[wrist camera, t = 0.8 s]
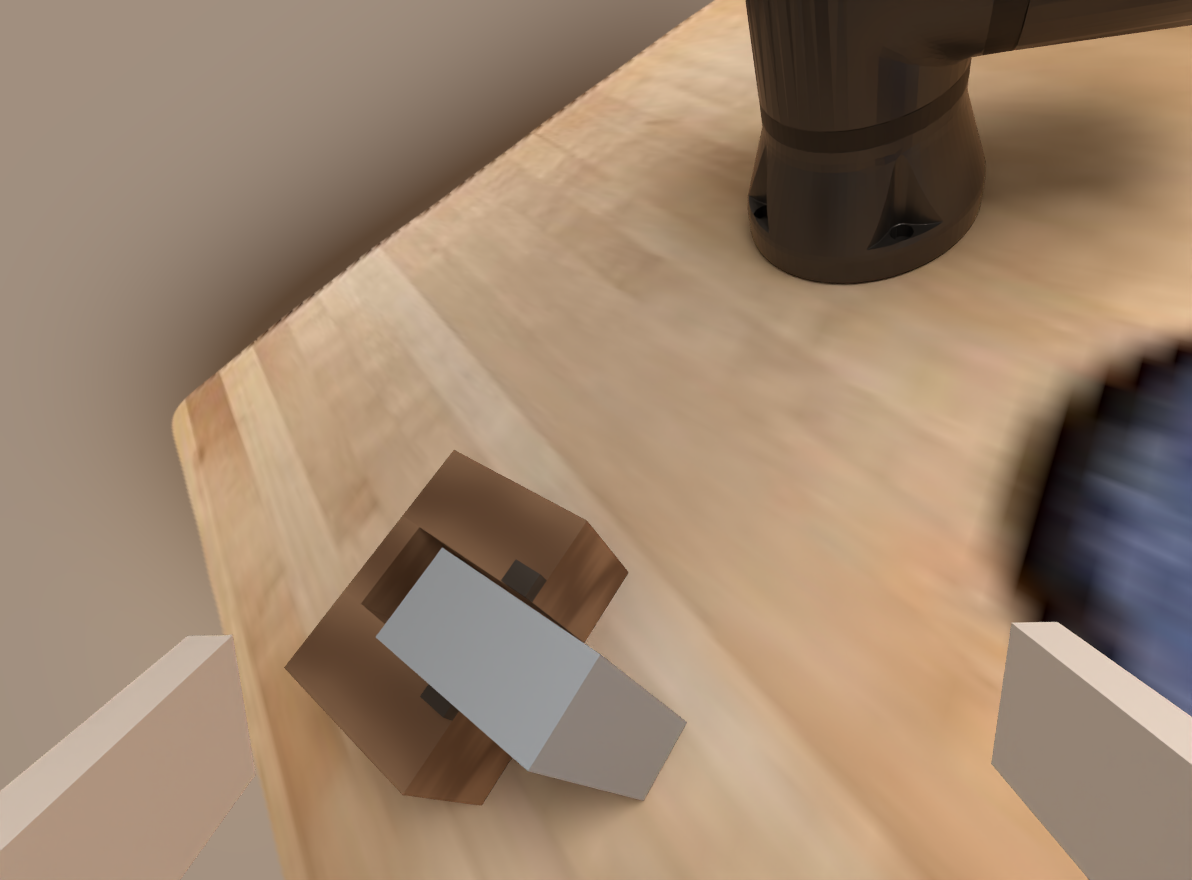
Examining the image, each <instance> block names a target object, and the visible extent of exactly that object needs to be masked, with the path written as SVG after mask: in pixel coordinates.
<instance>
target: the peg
mask: <svg viewBox="0 0 1192 880" xmlns="http://www.w3.org/2000/svg"><path fill="white" fill-rule="evenodd" d="M376 638H377V639H378V640H379V641H380V642H382V643H383V644H384V645H385V646H386V647H387V648H388V649H390V650H391V651H392V652H393V653H394V654H395V655H396V656H398V657H399V658H400V659H401V660H402V661H403V662H404V663H405V664H407V665H408V666H409V667H410V668H411V669H412V670H413V671H415V672H416V673H417V674H418V675H419V676H420V677H421V678H423V679H424V680H425V681H426V682H427V683H428V684H429V685H430V686H432V687H433V688H434V689H435V690H436V691H437V692H438V693H440V694H441V695H442V696H443V697H444V698H445V699H446V700H448V701H449V702H450V703H451V704H452V705H453V706H454V707H455V708H457V709H458V710H459V711H460V712H461V713H462V714H463V715H465V716H466V717H467V718H468V719H469V720H470V721H471V722H473V723H474V724H475V725H476V726H477V727H478V728H479V729H480V730H482V731H483V732H484V733H485V734H486V735H487V736H488V737H490V738H491V739H492V740H493V741H494V742H495V743H496V744H498V745H499V746H500V747H501V748H502V749H503V750H504V751H505V752H507V753H508V754H509V755H510V756H511V757H512V758H513V759H515V760H516V761H517V762H518V763H519V764H520V765H521V766H523V767H524V768H525V769H526V770H527V771H529V772H533V773H537V774H540V775H544V776H548V777H552V778H556V779H560V780H564V781H568V782H572V783H576V784H580V785H584V786H587V787H591V788H595V789H599V790H603V791H607V792H611V793H615V794H619V795H623V796H627V797H630V798H634V799H638V800H642V801H644V799H645V797H646V795H647V794H648V792H649V790H650V788H651V786H652V784H653V783H654V781H655V779H656V777H657V775H658V774H659V772H660V770H661V768H662V766H663V765H664V763H665V761H666V759H667V757H668V756H669V754H670V752H671V750H672V748H673V746H674V745H675V743H676V741H677V739H678V737H679V736H680V734H681V732H682V730H683V728H684V727H685V725H686V723H687V722H686V721H685V720H683V719H682V718H681V717H680V716H678V715H677V714H676V713H674V712H673V711H672V710H671V709H669V708H668V707H667V706H665V705H664V704H663V703H662V702H660V701H659V700H658V699H657V698H655V697H654V696H653V695H651V694H650V693H649V692H648V691H646V690H645V689H644V688H643V687H641V686H640V685H639V684H637V683H636V682H635V681H634V680H632V679H631V678H630V677H628V676H627V675H626V674H625V673H623V672H622V671H621V670H620V669H618V668H617V667H616V666H614V665H613V664H612V663H611V662H609V661H608V660H607V659H606V658H604V657H603V656H602V655H600V654H599V653H597V652H596V651H594V650H593V649H592V648H590V647H589V646H587V645H586V644H584V643H583V642H581V641H580V640H578V639H577V638H575V637H574V636H572V635H571V634H569V633H568V632H566V631H565V630H563V629H562V628H560V627H559V626H558V625H556V624H555V623H553V622H552V621H550V620H549V619H547V618H546V617H544V616H543V615H541V614H540V613H538V612H537V611H535V610H534V609H532V608H531V607H529V606H528V605H526V604H525V603H523V602H522V601H521V600H519V599H518V598H516V597H515V596H513V595H512V594H510V593H509V592H507V591H506V590H504V589H503V588H501V587H500V586H498V585H497V584H495V583H494V582H492V581H491V580H489V579H488V578H487V577H485V576H484V575H482V574H481V573H479V572H478V571H476V570H475V569H473V568H472V567H470V566H469V565H467V564H466V563H464V562H463V561H461V560H460V559H458V558H457V557H455V556H454V555H452V554H451V553H450V552H448V551H447V550H445V549H444V548H441V550H440V551H439V553H438V554H437V555H436V557H435V558H434V559H433V561H432V562H431V563H430V565H429V566H428V567H427V569H426V570H425V571H424V573H423V574H422V575H421V577H420V578H419V579H418V581H417V582H416V583H415V585H414V586H413V587H412V589H411V590H410V591H409V593H408V594H407V595H406V597H405V598H404V600H403V601H402V602H401V604H400V605H399V606H398V608H397V609H396V610H395V612H394V613H393V614H392V616H391V617H390V618H389V620H388V621H387V622H386V624H385V625H384V626H383V628H382V629H381V630H380V632H379V633H378V634H377V636H376Z"/></svg>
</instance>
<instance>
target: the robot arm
mask: <svg viewBox="0 0 1192 880" xmlns="http://www.w3.org/2000/svg"><path fill="white" fill-rule="evenodd" d="M746 7H747V15H748V22H749V30H750V37H751V44H752V52H753V59H754V67H755V74H756V81H757V89H758V96H759V102H760V110H761V118H762V131H761V136H760V141H759V146H758V151H757V155H756V160H755V165H754V170H753V174H752V179H751V184H750V189H749V193H748V214H749V220H750V226H751V233H752V237H753V240H754V242H755V244H756V246H757V248H758V250H759V251H760V252H761V254H762V255H763V256H764V257H765V258H766V259H767V260H768V261H770V262H771V263H772V264H773V265H775V266H776V267H778V268H780V269H782V270H783V271H785V272H788V273H790V274H792V275H795V276H798V277H801V278H805V279H809V280H814V281H820V282H829V283H856V282H866V281H873V280H878V279H883V278H887V277H891V276H895V275H898V274H901V273H904V272H907V271H910V270H912V269H915V268H917V267H919V266H922V265H924V264H926V263H928V262H929V261H931V260H933V259H935V258H937V257H938V256H940V255H941V254H943V253H944V252H946V251H947V250H948V249H950V248H951V247H952V246H953V245H954V244H956V243H957V242H958V241H959V240H960V239H961V238H962V237H963V236H964V234H965V233H966V232H967V231H968V230H969V228H970V227H971V225H972V224H973V222H974V220H975V218H976V216H977V214H978V211H979V208H980V204H981V199H982V193H983V188H984V183H985V175H986V168H985V157H984V153H983V149H982V145H981V142H980V138H979V134H978V130H977V126H976V122H975V118H974V114H973V110H972V106H971V102H970V98H969V94H968V90H967V87H968V78H969V72H970V65H971V57H976V56H981V55H987V54H994V53H1000V52H1006V51H1012V50H1020V49H1027V48H1034V47H1041V46H1048V45H1055V44H1062V43H1069V42H1076V41H1083V40H1090V39H1097V38H1104V37H1111V36H1118V35H1125V34H1132V33H1139V32H1146V31H1153V30H1160V29H1167V28H1174V27H1181V26H1188V25H1192V0H746ZM991 764H992V765H993V766H994V768H995V769H996V770H997V771H998V772H999V773H1000V775H1001V776H1002V777H1003V778H1004V779H1005V781H1006V782H1007V783H1008V784H1009V785H1010V786H1011V788H1012V789H1013V790H1014V791H1015V792H1016V794H1017V795H1018V796H1019V797H1020V798H1021V800H1022V801H1023V802H1024V803H1025V804H1026V805H1027V807H1028V808H1029V809H1030V810H1031V811H1032V813H1033V814H1034V815H1035V816H1036V817H1037V818H1038V820H1039V821H1040V822H1041V823H1042V824H1043V826H1044V827H1045V828H1046V829H1047V830H1048V831H1049V833H1050V834H1051V835H1052V836H1053V837H1054V839H1055V840H1056V841H1057V842H1058V843H1059V845H1060V846H1061V847H1062V848H1063V849H1064V850H1065V852H1066V853H1067V854H1068V855H1069V856H1070V858H1071V859H1072V860H1073V861H1074V862H1075V863H1076V865H1077V866H1078V867H1079V868H1080V869H1081V871H1082V872H1083V873H1084V874H1085V875H1086V877H1087V878H1088V879H1089V880H1192V717H1191V716H1190V715H1188V714H1187V713H1185V712H1184V711H1182V710H1181V709H1180V708H1178V707H1177V706H1175V705H1174V704H1173V703H1171V702H1170V701H1168V700H1167V699H1166V698H1164V697H1163V696H1161V695H1160V694H1158V693H1157V692H1156V691H1154V690H1153V689H1151V688H1150V687H1149V686H1147V685H1146V684H1144V683H1143V682H1141V681H1140V680H1139V679H1137V678H1136V677H1134V676H1133V675H1132V674H1130V673H1129V672H1127V671H1126V670H1124V669H1123V668H1122V667H1120V666H1119V665H1117V664H1116V663H1115V662H1113V661H1112V660H1110V659H1109V658H1108V657H1106V656H1105V655H1103V654H1102V653H1100V652H1099V651H1098V650H1096V649H1095V648H1093V647H1092V646H1091V645H1089V644H1088V643H1086V642H1085V641H1083V640H1082V639H1081V638H1079V637H1078V636H1076V635H1075V634H1074V633H1072V632H1071V631H1069V630H1068V629H1066V628H1065V627H1064V626H1062V625H1061V624H1059V623H1058V622H1027V623H1011V630H1010V637H1009V644H1008V651H1007V658H1006V665H1005V672H1004V679H1003V686H1002V693H1001V700H1000V707H999V713H998V720H997V727H996V734H995V741H994V748H993V755H992V762H991ZM255 775H256V774H255V767H254V761H253V755H252V749H251V743H250V737H249V731H248V725H247V719H246V713H245V707H244V701H243V695H242V688H241V682H240V676H239V670H238V664H237V658H236V652H235V646H234V640H233V635H208V636H187V637H186V638H184V639H183V640H182V641H181V642H180V643H178V644H177V645H176V646H175V647H173V648H172V649H171V650H170V651H169V652H167V653H166V654H165V655H164V656H163V657H161V658H160V659H159V660H158V661H157V662H155V663H154V664H153V665H152V666H151V667H149V668H148V669H147V670H146V671H144V672H143V673H142V674H141V675H140V676H139V677H137V678H136V679H135V680H134V681H132V682H131V683H130V684H129V685H128V686H126V687H125V688H124V689H123V690H122V691H120V692H119V693H118V694H117V695H116V696H114V697H113V698H112V699H111V700H109V701H108V702H107V703H106V704H105V705H103V706H102V707H101V708H100V709H99V710H97V711H96V712H95V713H94V714H93V715H91V716H90V717H89V718H88V719H86V720H85V721H84V722H83V723H82V724H80V725H79V726H78V727H77V728H76V729H75V730H73V731H72V732H71V733H70V734H68V735H67V736H66V737H65V738H64V739H63V740H61V741H60V742H59V743H58V744H56V745H55V746H54V747H53V748H52V749H50V750H49V751H48V752H47V753H45V754H44V755H43V756H42V757H41V758H39V759H38V760H37V761H36V762H35V763H33V764H32V765H31V766H30V767H29V768H27V769H26V770H25V771H24V772H23V773H21V774H20V775H19V776H18V777H17V778H15V779H14V780H13V781H12V782H10V783H9V784H8V785H7V786H6V787H4V788H3V789H2V790H1V791H0V880H180V879H181V878H182V877H183V875H184V874H185V872H186V871H187V870H188V868H189V867H190V865H191V864H192V863H193V861H194V860H195V858H196V857H197V856H198V854H199V853H200V851H201V850H202V849H203V847H204V846H205V844H206V843H207V841H208V840H209V839H210V837H211V836H212V834H213V833H214V832H215V830H216V829H217V828H218V826H219V825H220V823H221V822H222V821H223V819H224V818H225V816H226V815H227V814H228V812H229V811H230V809H231V808H232V807H233V805H234V804H235V802H236V801H237V800H238V798H239V797H240V796H241V794H242V793H243V791H244V789H245V788H246V787H247V786H248V784H249V783H250V781H251V780H252V779H253V777H254V776H255Z"/></svg>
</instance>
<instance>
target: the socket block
mask: <svg viewBox="0 0 1192 880" xmlns="http://www.w3.org/2000/svg"><path fill="white" fill-rule="evenodd" d="M441 548H444V549H445V550H447V551H448V552H450V553H451V554H452V555H454V556H455V557H457V558H458V559H460V560H461V561H463V562H464V563H466V564H467V565H469V566H470V567H472V568H473V569H475V570H476V571H478V572H479V573H481V574H483V575H484V576H486V577H487V578H489V579H490V580H492V581H493V582H495V583H496V584H498V585H499V586H501V587H502V588H504V589H505V590H507V591H508V592H510V593H511V594H513V595H514V596H516V597H517V598H519V599H520V600H521V601H523V602H524V603H526V604H527V605H529V606H530V607H532V608H533V609H535V610H536V611H538V612H539V613H541V614H542V615H544V616H545V617H547V618H548V619H550V620H551V621H553V622H554V623H556V624H557V625H559V626H560V627H561V628H563V629H564V630H566V631H567V632H569V633H570V634H572V635H573V636H575V637H576V638H578V639H579V640H581V641H582V642H585V641H586V639H587V637H588V636H589V634H590V633H591V631H592V629H593V628H594V626H595V625H596V623H597V622H598V620H599V618H600V617H601V615H602V614H603V612H604V610H605V609H606V607H607V606H608V604H609V602H610V601H611V599H612V598H613V596H614V595H615V593H616V591H617V590H618V588H619V587H620V585H621V583H622V582H623V580H624V579H625V577H626V576H627V574H628V571H627V570H626V569H625V567H624V566H623V565H622V564H621V562H620V561H619V560H618V559H617V557H616V556H615V555H614V554H613V552H612V551H611V550H610V549H609V547H608V546H607V545H606V544H605V542H604V541H603V540H602V539H601V537H600V536H599V535H598V534H597V533H596V531H595V530H594V529H593V528H592V526H591V525H590V524H589V523H588V521H586V520H585V519H583V518H581V517H579V516H577V515H575V514H573V513H571V512H570V511H568V510H566V509H564V508H562V507H560V506H558V505H556V504H555V503H553V502H551V501H549V500H547V499H545V498H543V497H541V496H540V495H538V494H536V493H534V492H532V491H530V490H528V489H526V488H525V487H523V486H521V485H519V484H517V483H515V482H513V481H511V480H510V479H508V478H506V477H504V476H502V475H500V474H498V473H496V472H495V471H493V470H491V469H489V468H487V467H485V466H483V465H481V464H480V463H478V462H476V461H474V460H472V459H470V458H468V457H466V456H465V455H463V454H461V453H459V452H457V451H455V450H454V451H453V452H452V453H451V455H450V456H449V457H448V458H447V460H446V461H445V462H444V464H443V465H442V466H441V467H440V469H439V470H438V471H437V472H436V474H435V475H434V476H433V478H432V479H431V480H430V481H429V483H428V484H427V485H426V487H425V488H424V489H423V490H422V492H421V493H420V494H419V496H418V497H417V498H416V499H415V501H414V502H413V503H412V505H411V506H410V507H409V508H408V510H407V511H406V512H405V513H404V515H403V516H402V517H401V519H400V520H399V521H398V522H397V524H396V525H395V526H394V528H393V529H392V530H391V531H390V533H389V534H388V535H387V537H386V538H385V539H384V540H383V542H382V543H381V544H380V546H379V547H378V548H377V549H376V551H375V552H374V553H373V554H372V556H371V557H370V558H369V560H368V561H367V562H366V563H365V565H364V566H363V567H362V569H361V570H360V571H359V572H358V574H357V575H356V576H355V578H354V579H353V580H352V581H351V583H350V584H349V585H348V587H347V588H346V589H345V590H344V592H343V593H342V594H341V595H340V597H339V598H338V599H337V601H336V602H335V603H334V604H333V606H332V607H331V608H330V610H329V611H328V612H327V613H326V615H325V616H324V617H323V619H322V620H321V621H320V622H319V624H318V625H317V626H316V628H315V629H314V630H313V631H312V633H311V634H310V635H309V636H308V638H307V639H306V640H305V642H304V643H303V644H302V645H301V647H300V648H299V649H298V651H297V652H296V653H295V654H294V656H293V657H292V658H291V660H290V661H289V662H288V663H287V665H286V666H285V667H284V668H285V669H286V670H287V671H288V672H289V673H290V674H291V676H292V677H293V678H294V679H295V680H296V681H297V682H298V683H299V684H300V685H301V686H302V687H303V688H304V689H305V691H306V692H307V693H308V694H309V695H310V696H311V697H312V698H313V699H314V700H315V701H316V702H317V703H318V705H319V706H320V707H321V708H322V709H323V710H324V711H325V712H326V713H327V714H328V715H329V716H330V717H331V718H332V720H333V721H334V722H335V723H336V724H337V725H338V726H339V727H340V728H341V729H342V730H343V731H344V732H345V734H346V735H347V736H348V737H349V738H350V739H351V740H352V741H353V742H354V743H355V744H356V745H357V746H358V747H359V749H360V750H361V751H362V752H363V753H364V754H365V755H366V756H367V757H368V758H369V759H370V760H371V761H372V763H373V764H374V765H375V766H376V767H377V768H378V769H379V770H380V771H381V772H382V773H383V774H384V775H385V777H386V778H387V779H388V780H389V781H390V782H391V783H392V784H393V785H394V786H395V787H396V788H397V789H398V790H399V792H400V793H401V794H402V795H407V796H415V797H422V798H430V799H437V800H445V801H452V802H460V803H467V804H475V805H482V804H483V802H484V801H485V799H486V797H487V796H488V794H489V793H490V791H491V790H492V788H493V786H494V785H495V783H496V782H497V780H498V778H499V777H500V775H501V774H502V772H503V771H504V769H505V767H506V766H507V764H508V763H509V761H510V759H511V758H512V757H511V756H510V755H509V754H508V753H507V752H505V751H504V750H503V749H502V748H501V747H500V746H499V745H498V744H496V743H495V742H494V741H493V740H492V739H491V738H490V737H488V736H487V735H486V734H485V733H484V732H483V731H482V730H480V729H479V728H478V727H477V726H476V725H475V724H474V723H473V722H471V721H470V720H469V719H468V718H467V717H466V716H465V715H463V714H462V713H461V712H460V711H459V710H458V709H457V708H455V707H454V706H453V705H452V704H451V703H450V702H449V701H448V700H446V699H445V698H444V697H443V696H442V695H441V694H440V693H438V692H437V691H436V690H435V689H434V688H433V687H432V686H430V685H429V684H428V683H427V682H426V681H425V680H424V679H423V678H421V677H420V676H419V675H418V674H417V673H416V672H415V671H413V670H412V669H411V668H410V667H409V666H408V665H407V664H405V663H404V662H403V661H402V660H401V659H400V658H399V657H398V656H396V655H395V654H394V653H393V652H392V651H391V650H390V649H388V648H387V647H386V646H385V645H384V644H383V643H382V642H380V641H379V640H378V639H377V638H376V636H377V634H378V633H379V632H380V630H381V629H382V628H383V626H384V625H385V624H386V622H387V621H388V620H389V618H390V617H391V616H392V614H393V613H394V612H395V610H396V609H397V608H398V606H399V605H400V604H401V602H402V601H403V600H404V598H405V597H406V595H407V594H408V593H409V591H410V590H411V589H412V587H413V586H414V585H415V583H416V582H417V581H418V579H419V578H420V577H421V575H422V574H423V573H424V571H425V570H426V569H427V567H428V566H429V565H430V563H431V562H432V561H433V559H434V558H435V557H436V555H437V554H438V553H439V551H440V550H441Z"/></svg>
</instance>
